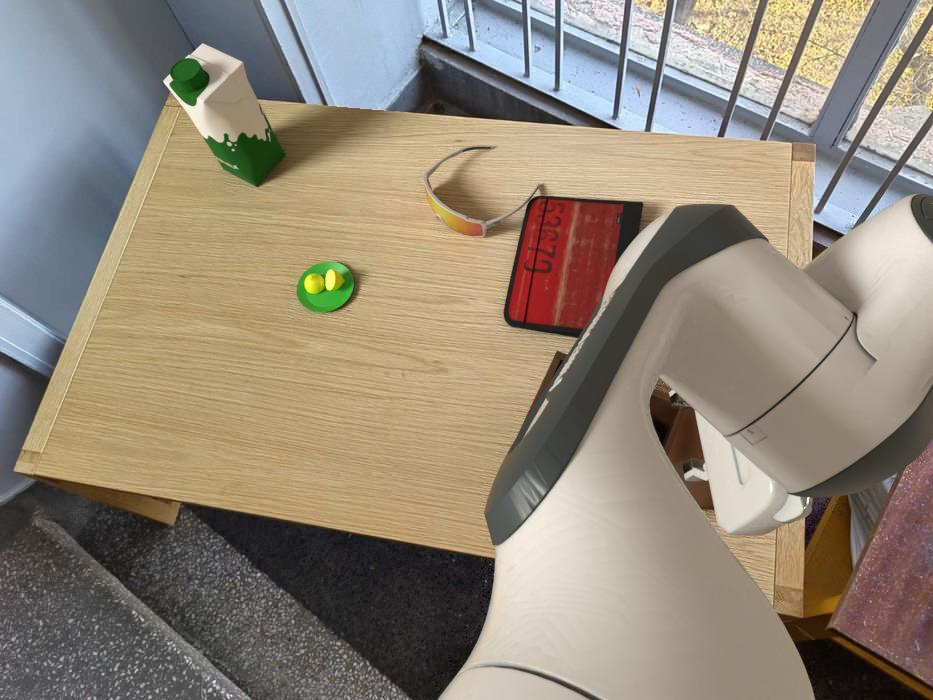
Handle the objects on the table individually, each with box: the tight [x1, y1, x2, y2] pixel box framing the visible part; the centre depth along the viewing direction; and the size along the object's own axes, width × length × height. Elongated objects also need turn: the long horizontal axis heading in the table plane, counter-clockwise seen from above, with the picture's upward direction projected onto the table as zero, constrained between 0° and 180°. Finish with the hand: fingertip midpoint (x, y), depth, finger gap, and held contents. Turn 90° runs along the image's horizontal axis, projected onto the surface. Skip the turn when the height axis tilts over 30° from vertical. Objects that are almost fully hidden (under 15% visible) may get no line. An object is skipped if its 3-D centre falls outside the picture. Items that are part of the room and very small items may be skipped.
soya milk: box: [162, 42, 286, 188], centre depth 96 cm, size 9×9×20 cm
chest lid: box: [668, 407, 715, 511], centre depth 59 cm, size 16×12×1 cm
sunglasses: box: [423, 144, 541, 239], centre depth 97 cm, size 14×15×5 cm
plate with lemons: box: [296, 261, 355, 313], centre depth 93 cm, size 8×8×3 cm
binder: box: [503, 195, 644, 339], centre depth 91 cm, size 16×2×21 cm
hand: (683, 437), depth 61 cm, fingers open, 6 cm apart
